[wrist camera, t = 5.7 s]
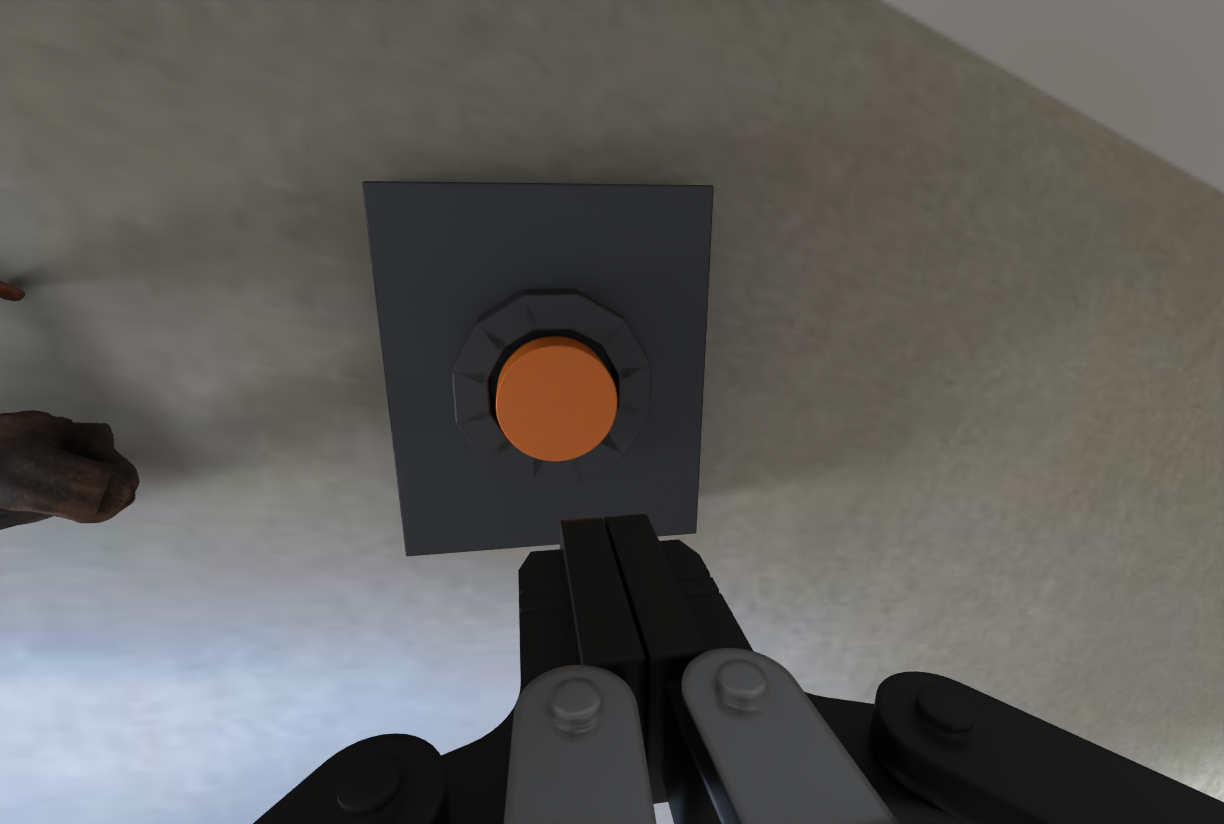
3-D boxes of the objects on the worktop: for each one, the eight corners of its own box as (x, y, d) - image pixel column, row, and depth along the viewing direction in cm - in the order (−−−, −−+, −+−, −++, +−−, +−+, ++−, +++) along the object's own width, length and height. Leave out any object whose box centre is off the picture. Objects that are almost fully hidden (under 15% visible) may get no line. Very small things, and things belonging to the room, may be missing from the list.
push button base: (382, 186, 22) (347, 177, 18) (689, 189, 24) (731, 182, 20) (417, 519, 27) (397, 582, 22) (677, 501, 29) (709, 556, 24)
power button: (493, 337, 20) (492, 347, 19) (609, 333, 21) (618, 343, 19) (500, 446, 22) (499, 465, 20) (609, 440, 22) (617, 458, 20)
